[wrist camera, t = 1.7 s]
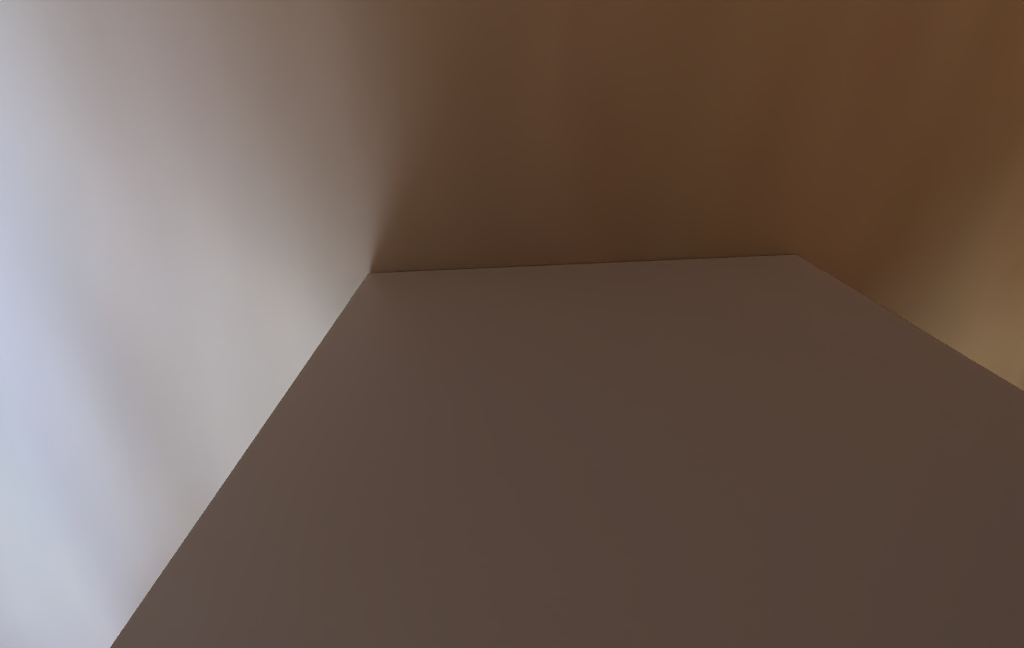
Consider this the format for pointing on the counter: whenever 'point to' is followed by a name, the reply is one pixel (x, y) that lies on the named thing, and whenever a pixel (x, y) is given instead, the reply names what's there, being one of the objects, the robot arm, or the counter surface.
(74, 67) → the counter surface
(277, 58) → the counter surface
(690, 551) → the grey rectangular box
